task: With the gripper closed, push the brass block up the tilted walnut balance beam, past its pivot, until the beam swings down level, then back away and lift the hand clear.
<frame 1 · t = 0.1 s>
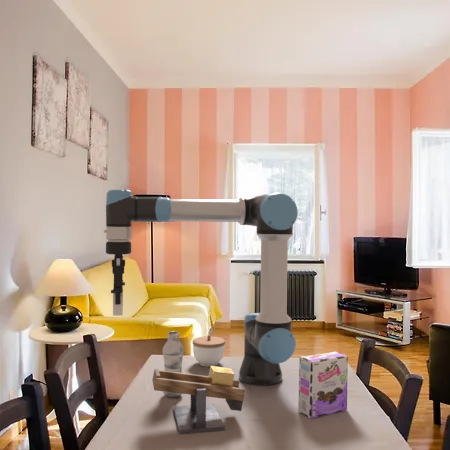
hand: (118, 310, 144), 28 cm above the table, tool pointing down, fingers open, 13 cm apart
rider: (219, 387, 134), point 9 cm above the table, tilted 11°, touching beam
lidded bowl: (208, 364, 184), on the table
beam: (197, 389, 133), point 9 cm above the table, hinge at -10.6°, touching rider
plastic bottle: (172, 396, 151), on the table
candy box: (322, 412, 140), on the table
pivot stand: (197, 419, 133), on the table
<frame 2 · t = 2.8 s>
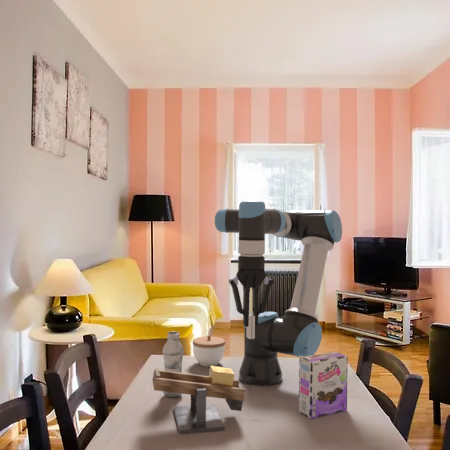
hand: (250, 337, 136), 22 cm above the table, tool pointing down, fingers closed
nothing on the table moved.
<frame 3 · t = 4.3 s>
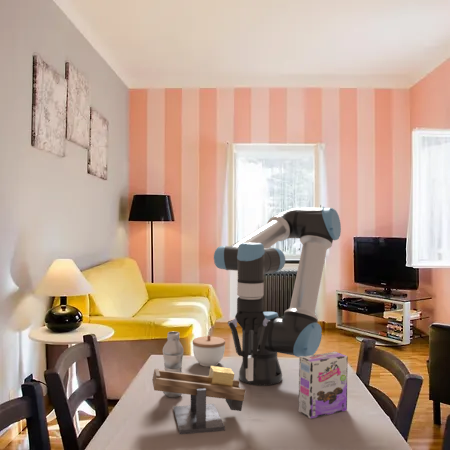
hand: (249, 379, 136), 10 cm above the table, tool pointing down, fingers closed
nothing on the table moved.
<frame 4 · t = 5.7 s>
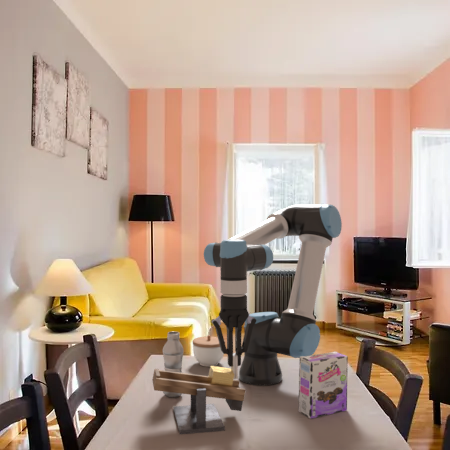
hand: (234, 377, 135), 11 cm above the table, tool pointing down, fingers closed
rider: (218, 387, 134), point 9 cm above the table, tilted 11°, touching beam, gripper
everything else where it was.
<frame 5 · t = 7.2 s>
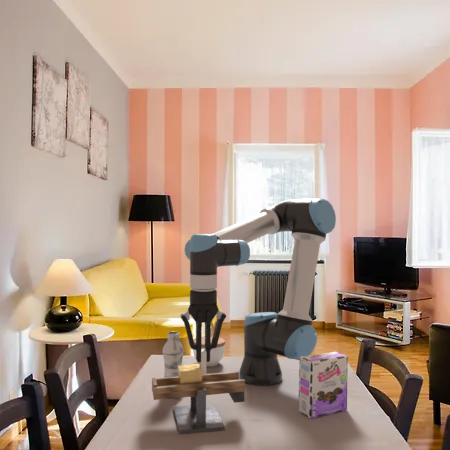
hand: (203, 373, 133), 13 cm above the table, tool pointing down, fingers closed
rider: (190, 385, 132), point 10 cm above the table, touching gripper
beam: (198, 389, 133), point 9 cm above the table, hinge at 1.4°
everything else where it was.
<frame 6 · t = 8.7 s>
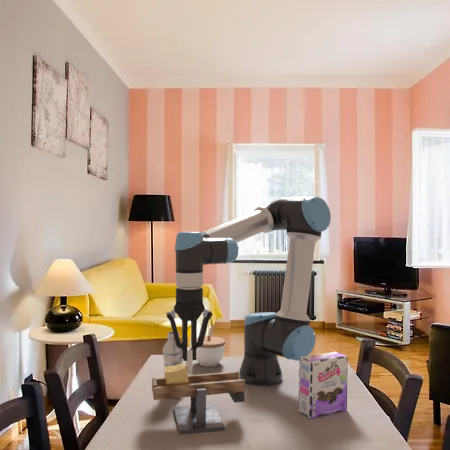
hand: (189, 371, 132), 14 cm above the table, tool pointing down, fingers closed
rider: (177, 385, 132), point 10 cm above the table, tilted 6°, touching beam, gripper
beam: (198, 389, 133), point 9 cm above the table, hinge at 1.5°, touching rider
everything else where it was.
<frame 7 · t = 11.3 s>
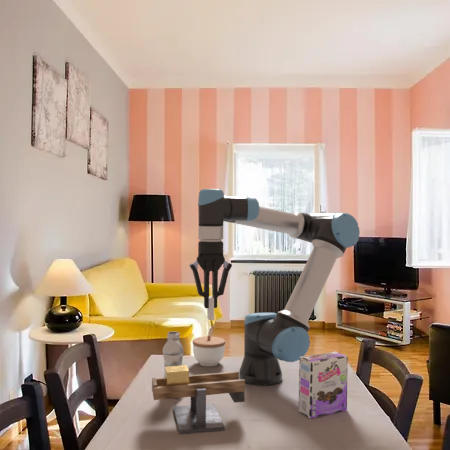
hand: (210, 318, 143), 26 cm above the table, tool pointing down, fingers closed
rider: (177, 386, 132), point 10 cm above the table, touching beam
everything else where it was.
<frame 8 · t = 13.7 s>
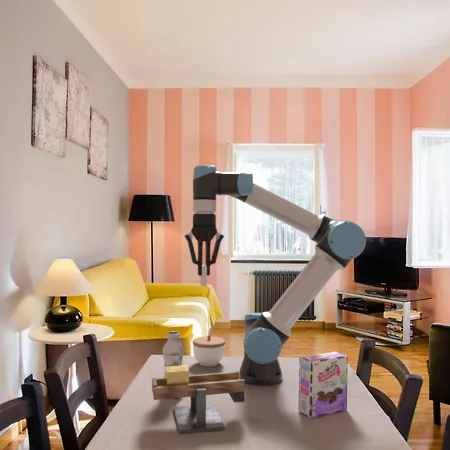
hand: (203, 285, 155), 34 cm above the table, tool pointing down, fingers closed
nothing on the table moved.
at the end: beam at +2° (first picture: -11°); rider inside the target area on the beam (1.8 cm from its centre), point 0.6 cm above the beam's base; the gripper is holding nothing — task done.
